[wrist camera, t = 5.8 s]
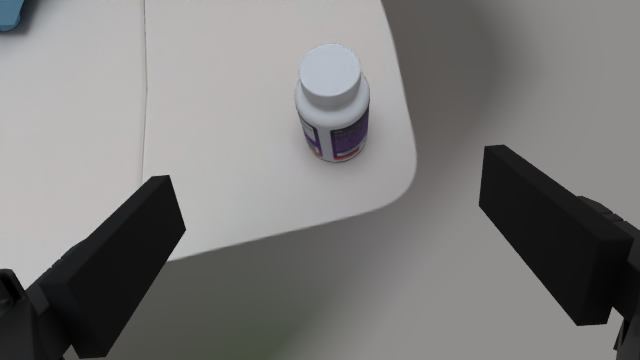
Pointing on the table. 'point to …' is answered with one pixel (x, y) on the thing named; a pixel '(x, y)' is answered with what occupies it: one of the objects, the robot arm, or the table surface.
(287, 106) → the table surface
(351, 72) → the pill bottle
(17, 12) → the teapot
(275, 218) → the table surface
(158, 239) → the robot arm
